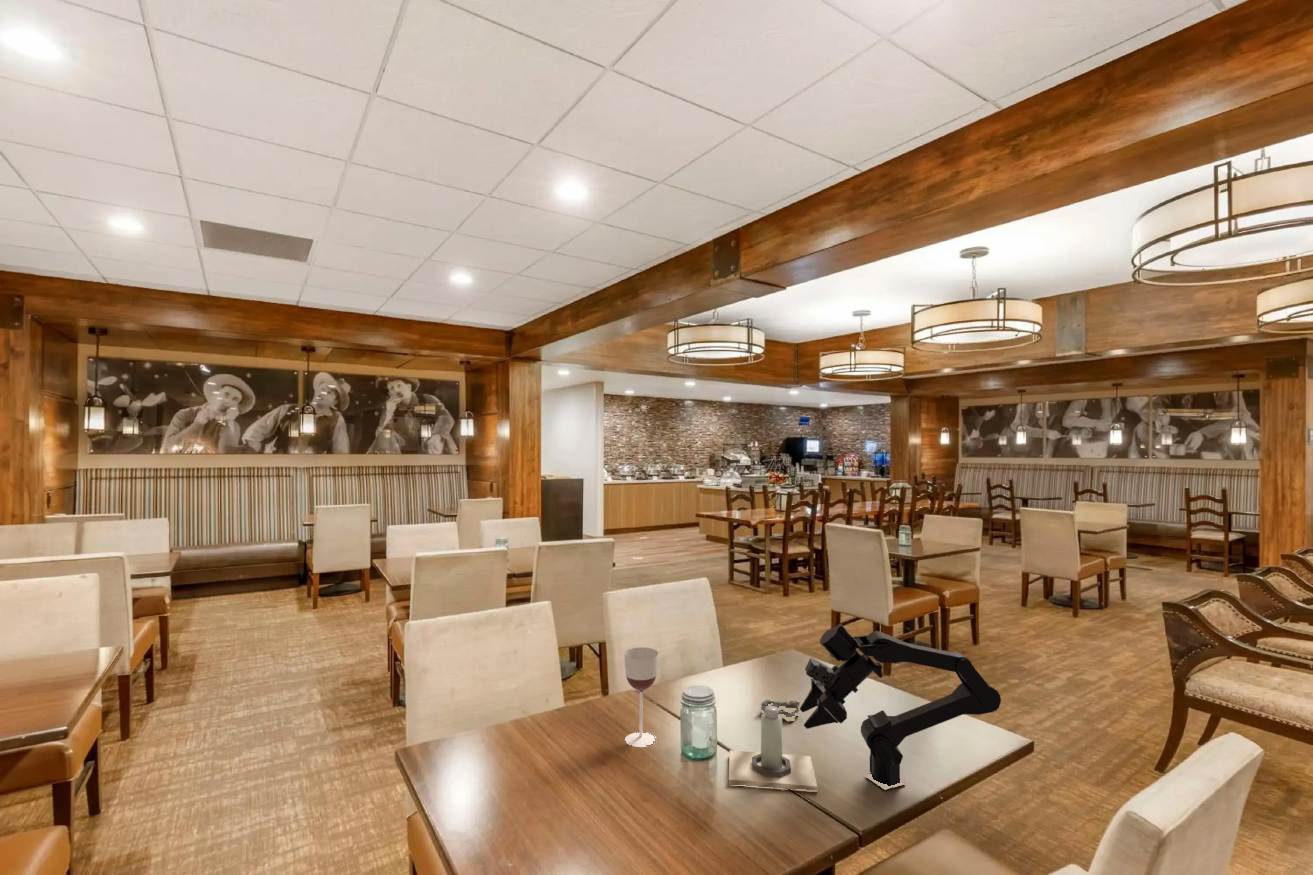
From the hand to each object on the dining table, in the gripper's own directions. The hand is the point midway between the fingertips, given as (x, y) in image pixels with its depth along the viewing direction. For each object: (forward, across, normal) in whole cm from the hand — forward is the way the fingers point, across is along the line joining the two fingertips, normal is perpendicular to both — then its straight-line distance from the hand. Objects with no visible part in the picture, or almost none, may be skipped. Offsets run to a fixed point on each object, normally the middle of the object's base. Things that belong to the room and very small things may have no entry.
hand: (803, 718), depth 144 cm
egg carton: (+12, -34, +8) cm, 37 cm away
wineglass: (+39, -13, -20) cm, 46 cm away
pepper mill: (+14, 0, +3) cm, 14 cm away
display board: (+15, 0, +4) cm, 16 cm away
